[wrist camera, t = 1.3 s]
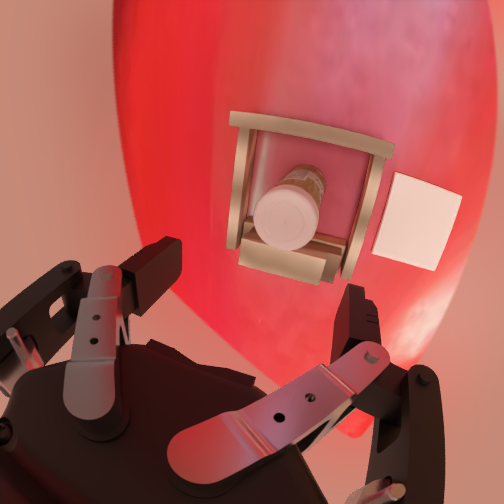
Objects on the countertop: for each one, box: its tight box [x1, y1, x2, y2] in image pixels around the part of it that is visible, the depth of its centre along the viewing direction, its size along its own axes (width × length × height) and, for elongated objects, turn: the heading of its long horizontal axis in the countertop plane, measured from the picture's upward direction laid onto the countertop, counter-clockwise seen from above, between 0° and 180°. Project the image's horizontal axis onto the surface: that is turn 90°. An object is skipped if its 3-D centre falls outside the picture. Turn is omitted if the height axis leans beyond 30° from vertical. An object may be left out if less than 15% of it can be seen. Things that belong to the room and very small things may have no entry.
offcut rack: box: [226, 111, 395, 286], centre depth 28 cm, size 16×15×6 cm
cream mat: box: [371, 171, 462, 271], centre depth 28 cm, size 10×9×1 cm
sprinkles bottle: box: [253, 165, 326, 251], centre depth 25 cm, size 5×5×13 cm
